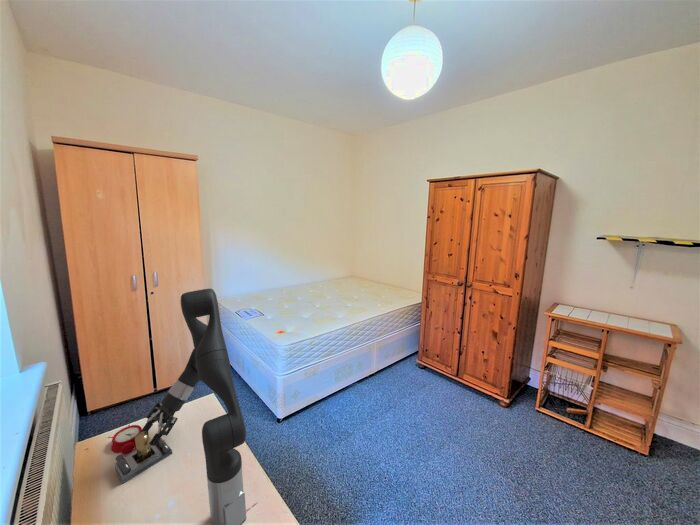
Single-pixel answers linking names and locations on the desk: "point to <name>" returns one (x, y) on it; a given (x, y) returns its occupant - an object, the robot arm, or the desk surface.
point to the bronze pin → (143, 446)
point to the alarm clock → (125, 439)
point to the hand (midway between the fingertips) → (147, 439)
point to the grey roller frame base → (130, 468)
